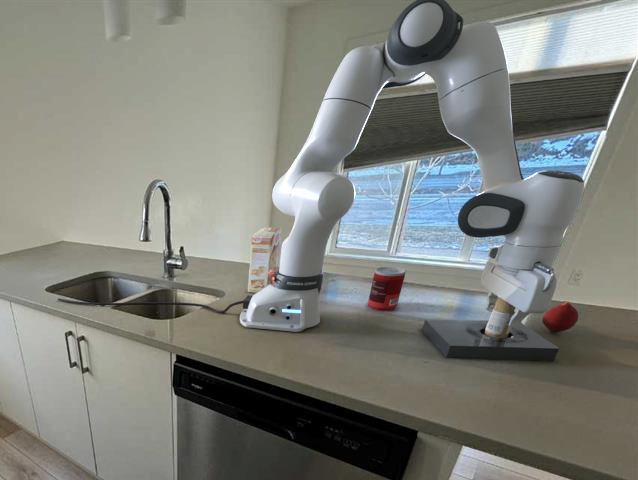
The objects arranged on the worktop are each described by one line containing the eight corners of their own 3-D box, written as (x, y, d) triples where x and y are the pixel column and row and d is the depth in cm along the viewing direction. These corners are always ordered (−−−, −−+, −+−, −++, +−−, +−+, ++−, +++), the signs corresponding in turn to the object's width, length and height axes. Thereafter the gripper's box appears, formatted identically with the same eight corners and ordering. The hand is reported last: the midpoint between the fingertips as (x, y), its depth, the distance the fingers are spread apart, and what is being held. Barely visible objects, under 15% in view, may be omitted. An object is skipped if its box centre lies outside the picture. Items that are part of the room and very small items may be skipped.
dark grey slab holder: (446, 357, 93) (450, 345, 91) (421, 330, 106) (424, 319, 104) (553, 361, 87) (559, 348, 86) (513, 331, 101) (518, 320, 99)
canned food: (397, 303, 123) (406, 267, 117) (395, 312, 117) (405, 274, 112) (368, 301, 127) (376, 265, 121) (365, 309, 121) (374, 272, 116)
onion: (564, 329, 100) (579, 298, 96) (574, 338, 95) (591, 306, 91) (533, 327, 102) (547, 296, 98) (542, 336, 97) (556, 304, 94)
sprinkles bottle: (509, 347, 94) (533, 291, 88) (490, 348, 94) (513, 293, 88) (493, 339, 98) (514, 285, 92) (474, 341, 98) (495, 287, 91)
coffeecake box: (267, 294, 140) (272, 235, 130) (246, 292, 144) (250, 235, 134) (277, 282, 151) (282, 227, 141) (257, 280, 154) (262, 227, 145)
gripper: (577, 269, 76) (545, 336, 83) (518, 246, 93) (495, 303, 100) (537, 269, 78) (508, 335, 85) (485, 246, 95) (465, 303, 102)
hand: (501, 318), depth 92 cm, fingers open, 8 cm apart
